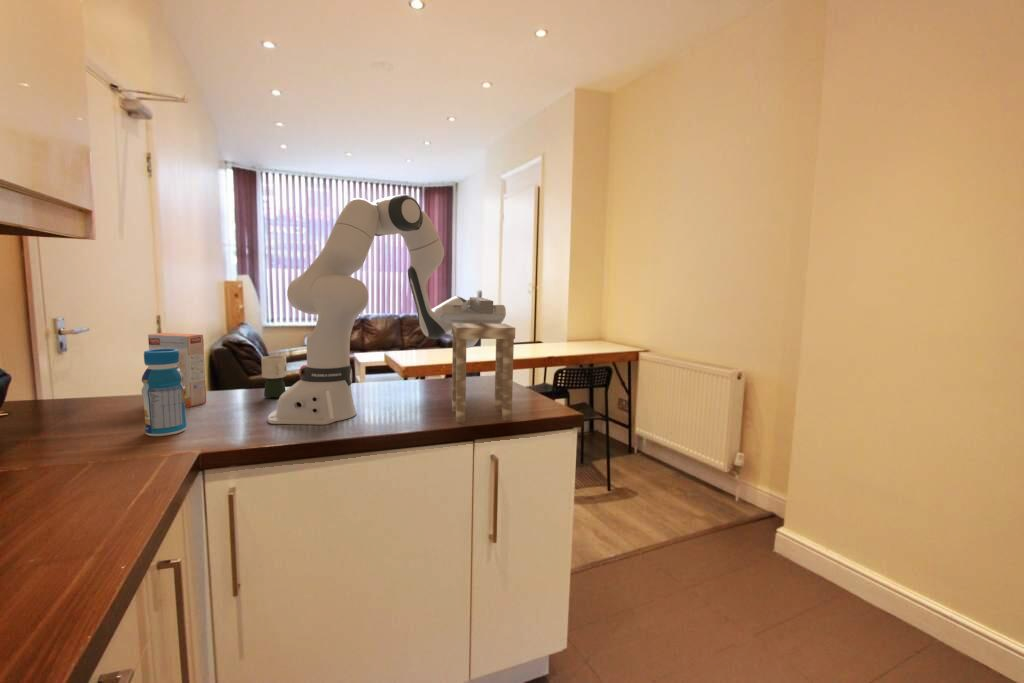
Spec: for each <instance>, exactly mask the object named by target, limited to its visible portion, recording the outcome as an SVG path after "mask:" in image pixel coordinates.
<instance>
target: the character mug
mask: <svg viewBox="0 0 1024 683" xmlns="http://www.w3.org/2000/svg"><path fill="white" fill-rule="evenodd" d="M260 362H261V377H262V378H264V379H266V380H265V383H264V393H263V397H264V398H275V399H279V398H280V396H281V395H282V394H283V393H284V392H285V391H286V390H287V389H286V384H285V381H284V379H283V378H284V377H286V376H287V375H288V371H287V365H288V364H287V363H288V362H287V356H285V355H267V356H262V357H261V361H260Z"/></svg>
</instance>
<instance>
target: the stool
mask: <svg viewBox="0 0 1024 683" xmlns="http://www.w3.org/2000/svg"><path fill="white" fill-rule="evenodd" d="M451 335H452V360H451V361H452V362H451V363H452V364H451V366H452V367H451V370H452V371H451V384H452V385H451V386H452V387H451V411H452V413H455V422H456V424H457V423H458V424H459V423H466V402H467V385H466V384H467V348H466V339H479V340H485V339H486V340H495V368H494V369H495V371H494V372H495V373H494V374H495V375H494V409H496V410H495V411H501V420H502V421H504V422H505V421H506V420H512V421H513V390H514V389H513V388H514V387H513V386H514V385H513V384H514V383H513V382H514V381H513V379H514V375H513V374H514V348H515V346H514V345H515V343H514V342H515V339H516V327H515V326H512V325H509V324H507V323H501V324H483V323H452V330H451Z"/></svg>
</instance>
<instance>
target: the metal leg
mask: <svg viewBox="0 0 1024 683" xmlns="http://www.w3.org/2000/svg"><path fill="white" fill-rule="evenodd" d="M469 300H471V307H469V308H470V309H472V310H474V311H476V312H478V313H480V314H493V305H494V300H492V299H491V300H490V299H488V298H484V297H481V296H479V297H478V296H469Z"/></svg>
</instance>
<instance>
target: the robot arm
mask: <svg viewBox="0 0 1024 683" xmlns="http://www.w3.org/2000/svg"><path fill="white" fill-rule="evenodd" d="M398 234H399V235H400V236H401V237H402V238H403V241H404V244H405V245H406V248H407V250H408V252H409V256H410V258H409V259H410V265H409V268H408V269H407V277H408V282H409V286H410V290H411V294H412V298H413V301H414V304H415V308H416V312H417V318H418V323H419V327H420V330H421V332H422V334H423V335H424V337H427V338H429V339H431V340H432V339H433V340H439V339H440V338H441V337H443V336H445V335H446V334H447V333H448V332H450V331H452V323H483V324H503V322H504V320H505V318H506V317H507V316H506V315H507V312H506V306H505V305H504V304H493V314H480V313H478V312H476V311H474V310H472V309H470V308H469V307H471V300H470V299H465V298H463V297H461V296H457V295H455V296H452V297H450V298H448V299H446V300H445V301H443V302H441V303H440V304H438V305H436V306H434V307H431V304H430V303H431V302H430V300H429V296H428V293H427V284H428V282H429V279H430V277H431V276H432V275H433V274H434V273H435V271H437V269H438V268H439V267H440V266H441V264H442V262H443V260H444V257H445V247H444V245H443V242H442V240H441V238H440V235H439V232H438V231H437V229H436V227H435V225H434V223H433V221H432V220H431V218H430V217H429V215H428V214H427V212H425V211H424V210H423V209H422V208H421V206H420V204H419V203H418V201H417V200H416V199H415V198H414V197H412V196H411V195H410V194H409V195H408V194H396V195H393V196H384V197H382V198H378V199H376V200H373V201H369V200H368V199H365V198H362V197H357V198H356V197H355V198H352V199H351V200H349V201H348V202H347V204H345V206H344V208H343V209H342V211H341V212H340V214H339V216H338V217H337V219H336V220H335V223H334V225H333V228H332V229H331V232H330V234H329V236H328V238H327V241H326V243H325V245H324V247H323V248H322V250H321V252H320V253H319V254H318V255H317V257H316V258H315V259H314V261H313V262H312V263H311V264H310V266H309V267H307V269H305V271H304V272H303V273H302V274H300V275H299V276H298V277H296V278H294V279H293V280H292V281H290V283H289V285H288V287H287V292H286V293H287V294H286V296H287V300H288V303H289V305H291V306H292V307H293V308H294V309H296V310H298V311H300V312H303V313H305V314H307V315H317V320H316V325H315V327H314V328H313V331H312V332H311V333H309V334H308V335H307V338H306V341H305V342H306V343H305V344H306V364H303V365H302V366H300V367H299V370H298V376H299V378H298V379H299V380H298V381H296V382H295V383H294V384H292V385H291V386H290V387H288V388H287V389H285V390H286V391H285V392H284V393H283V394H282V395H281V396H280V397H278V400H277V405H276V406H277V407H276V409H275V410H273V411H272V412H270V413H269V414H268V415H267V422H268V423H269V424H270V425H271V424H273V425H274V424H275V425H277V424H279V425H280V424H282V425H321V426H322V425H329V424H332V423H334V422H339V421H343V420H347V419H350V418H352V417H355V416H356V415H357V409H356V408H355V407H356V406H355V402H354V399H353V398H354V397H353V392H352V382H353V369H352V365H351V364H350V363H351V362H350V361H351V360H350V359H351V358H350V356H351V353H350V350H351V349H350V348H351V335H352V331H353V328H354V325H355V323H356V320H357V318H358V316H360V314H361V313H363V312H364V310H365V309H366V307H367V306H368V303H369V291H368V288H367V286H366V285H365V283H364V282H363V281H361V280H360V279H358V278H355V277H351V276H352V275H353V274H354V273H357V271H359V270H360V269H361V268H362V267H363V265H364V263H365V261H366V259H367V256H368V254H369V252H370V249H371V246H372V244H373V241H374V239H375V236H377V237H383V236H388V235H390V236H391V235H393V236H394V235H398ZM479 340H480V339H466V349H468V348H472V347H474V346H476V344H477V343H478V341H479Z"/></svg>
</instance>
